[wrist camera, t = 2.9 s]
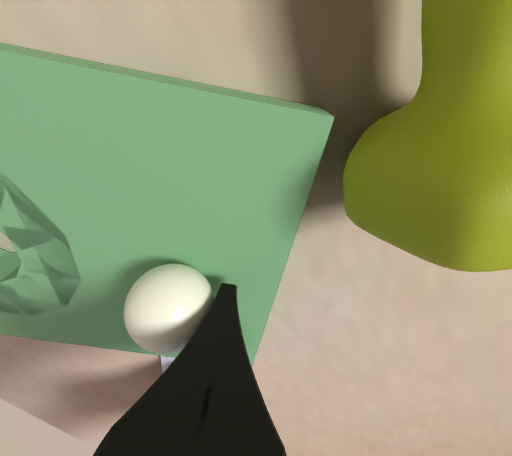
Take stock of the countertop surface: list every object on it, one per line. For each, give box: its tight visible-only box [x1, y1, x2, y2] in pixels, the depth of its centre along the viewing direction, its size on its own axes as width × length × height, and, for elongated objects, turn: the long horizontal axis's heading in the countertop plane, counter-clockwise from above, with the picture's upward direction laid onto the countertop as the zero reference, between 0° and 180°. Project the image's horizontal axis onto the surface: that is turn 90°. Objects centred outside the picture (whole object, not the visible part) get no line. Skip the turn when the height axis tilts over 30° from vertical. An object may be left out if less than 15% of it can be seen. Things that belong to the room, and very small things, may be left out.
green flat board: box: [0, 43, 335, 367], centre depth 13 cm, size 18×23×2 cm
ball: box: [124, 264, 214, 354], centre depth 11 cm, size 4×4×4 cm
